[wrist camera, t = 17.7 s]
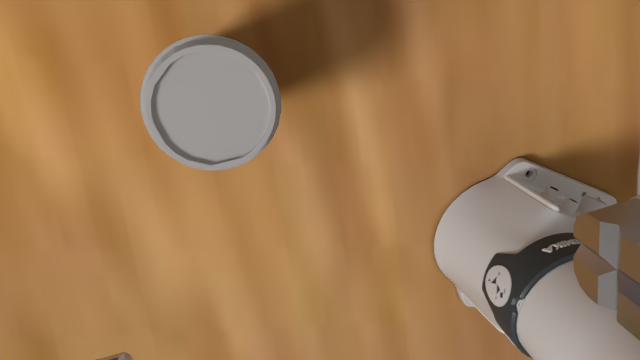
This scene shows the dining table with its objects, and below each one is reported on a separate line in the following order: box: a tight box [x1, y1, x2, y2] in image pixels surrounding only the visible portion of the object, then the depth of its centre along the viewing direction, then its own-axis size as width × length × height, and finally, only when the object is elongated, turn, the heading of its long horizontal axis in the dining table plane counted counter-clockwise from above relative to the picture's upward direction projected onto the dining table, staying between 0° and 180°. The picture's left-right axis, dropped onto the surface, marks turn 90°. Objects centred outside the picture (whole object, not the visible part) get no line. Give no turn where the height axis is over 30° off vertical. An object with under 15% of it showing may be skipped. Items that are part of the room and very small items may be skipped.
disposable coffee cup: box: [140, 35, 281, 171], centre depth 37 cm, size 10×10×12 cm
